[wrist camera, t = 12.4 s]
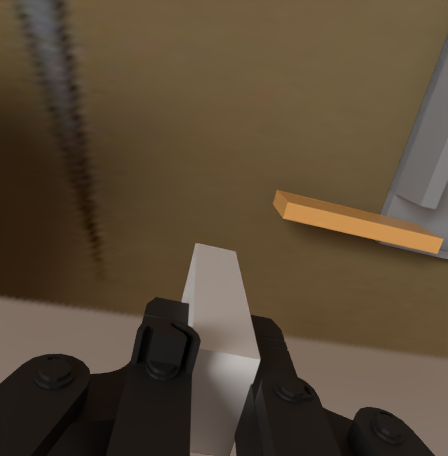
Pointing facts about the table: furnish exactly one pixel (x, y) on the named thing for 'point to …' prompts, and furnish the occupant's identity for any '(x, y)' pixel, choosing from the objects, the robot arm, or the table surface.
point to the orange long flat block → (355, 222)
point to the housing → (425, 165)
